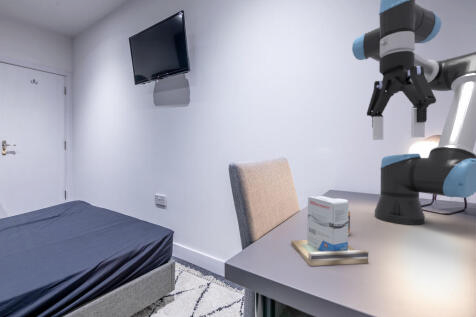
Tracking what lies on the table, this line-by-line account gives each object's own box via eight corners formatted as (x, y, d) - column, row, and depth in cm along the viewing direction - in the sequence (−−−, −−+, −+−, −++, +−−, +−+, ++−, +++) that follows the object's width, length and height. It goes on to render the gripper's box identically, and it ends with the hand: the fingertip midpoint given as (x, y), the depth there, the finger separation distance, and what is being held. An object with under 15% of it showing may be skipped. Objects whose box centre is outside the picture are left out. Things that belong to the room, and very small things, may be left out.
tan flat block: (338, 242, 65) (338, 233, 65) (368, 263, 53) (368, 251, 52) (291, 244, 63) (291, 234, 63) (310, 266, 51) (310, 254, 51)
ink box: (348, 253, 55) (349, 201, 55) (332, 257, 53) (333, 203, 53) (321, 240, 63) (322, 195, 62) (306, 243, 61) (307, 196, 60)
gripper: (354, 70, 74) (354, 140, 75) (425, 31, 50) (424, 136, 50) (377, 71, 75) (376, 140, 76) (458, 32, 50) (456, 135, 51)
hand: (395, 138), depth 63 cm, fingers open, 13 cm apart
